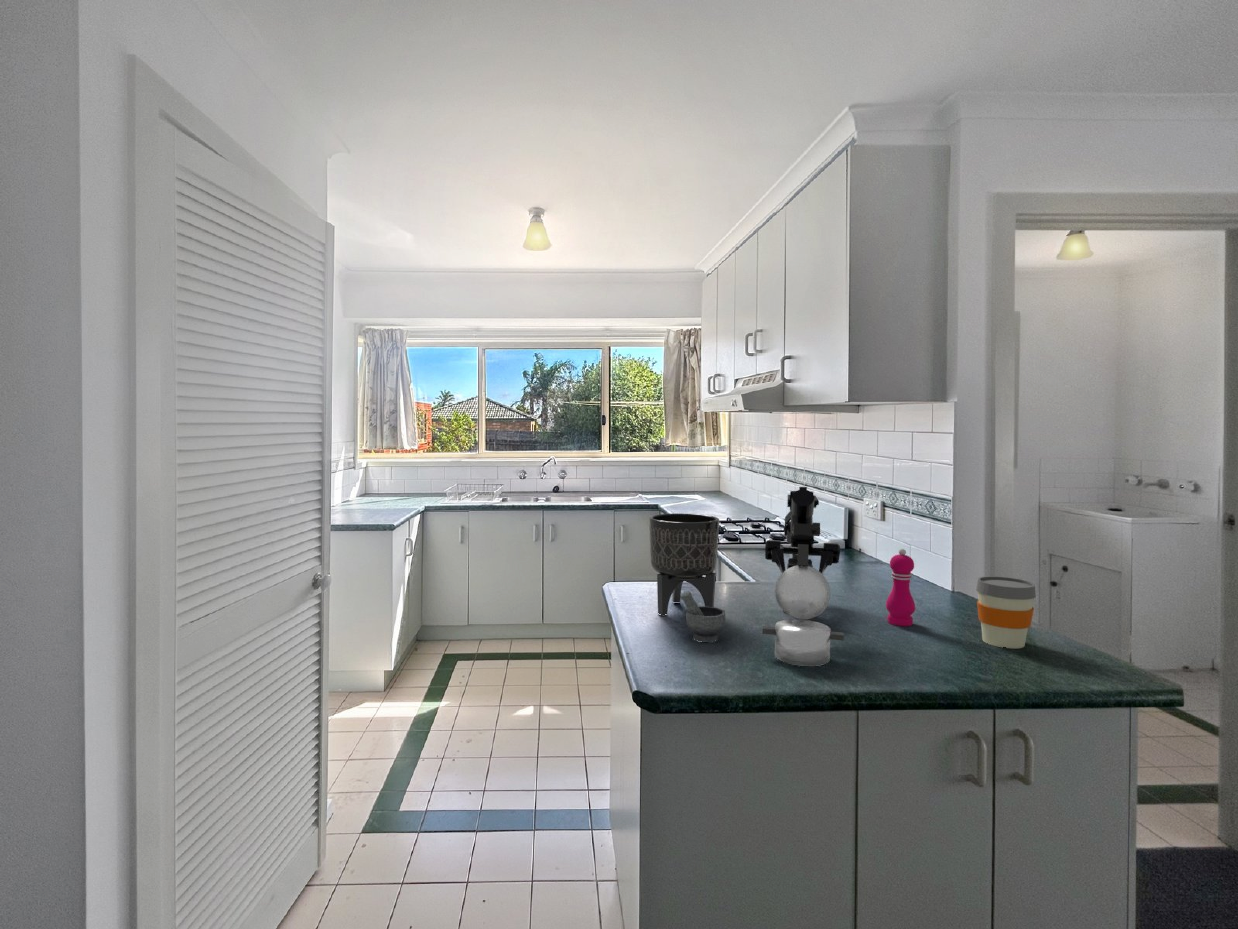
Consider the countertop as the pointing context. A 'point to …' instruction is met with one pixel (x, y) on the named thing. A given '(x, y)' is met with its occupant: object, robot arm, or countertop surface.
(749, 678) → the countertop surface
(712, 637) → the mortar and pestle
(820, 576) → the steel lid
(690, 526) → the planter
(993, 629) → the reusable coffee cup
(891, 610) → the pepper mill
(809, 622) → the steel pot
